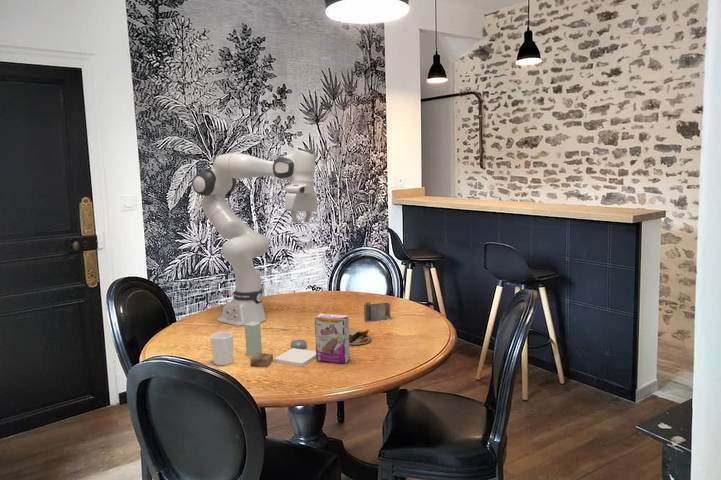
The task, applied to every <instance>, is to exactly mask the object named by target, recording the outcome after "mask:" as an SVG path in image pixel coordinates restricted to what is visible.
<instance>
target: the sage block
mask: <svg viewBox="0 0 721 480" xmlns="http://www.w3.org/2000/svg"><path fill="white" fill-rule="evenodd" d="M261 327H262V326H261V322H260V323H258V322H250V323H247V324H245V325H244V336H245V349H246V357H248V356H251V357H250V358H252V357H253V356H254V355H255V354H256V353H263V348H262V347H263V345H262V331H261V330H262V329H261Z"/></svg>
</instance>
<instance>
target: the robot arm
mask: <svg viewBox="0 0 721 480" xmlns="http://www.w3.org/2000/svg"><path fill="white" fill-rule="evenodd" d="M213 161H214V162H213V166H212V167H211V168H209V167H206V168H205V169H203V170H202V171H200V172H198V173H197V174H195V176H193V179H192V189H193V191H194V192H195V193H196V194H197V195H199V196H205V197H204V198H203V199H202V200H201V208H202V211H203V212H204V214H205V216H206V218H207V219H208V220H209V222H210V223H211V225H212V226H213V227H214V229H215V230H216V231H217V232H218V233H219V235H220V236H222V237H223V238H225V239H228V240H227V241H225V242H224V243H223V244H222V246H221V254H222V256H223V258H224V260H226V262H228V263H229V265H231V268H232V270H233V273H234V280H235V291H232V292H231V296H232V295H233V298H232V299H231V300H230V301H229V302H227V303H226V304H225V305H224V306H223V307H222V314H221V316H218V318H217V319H216V320H217V322H220V323H224V324H228V325H232V326H236V327H239V326H240V327H241V326H245V324H247V323H250V322H258V323H260V324H261V323H263V322H265V321H266V320H267V317H266V313H265V310H264V304H263V289H262V281H261V279H262V278H261V272H260V270H259V269H257V268H256V267H255V265H254V261H253V259H255V258H259V257H261V256H263V255H264V254H266V253H267V252H268V251H269V249H270V248H269V247H270V243H269V242H270V241H269V239H268V238H267V237H266V236H265V235H264V234H262V233H259V232H257V231H255V230H254V229H253V228H252V227H250V226H248V225H247V224H246V223H245V222H244V221H242V219H240V217H239V216H238V214H236V213H235V211H234V210H233V209H232V208H231V207H230V204H228V202H227V201H226V199H228V198H230V196H231V194H232V193H233V192H234V190H235V189H236V186H237V179H250V178H251V179H252V178H258V177H268V176H272V177H276V178H277V179H280V180H284V181H292V183H290V184H289V185H287V186H286V187H285V189H284V192H286V193H285V197H284V209H285V211H286V212H290V217H291V223H294V224H296V223H298V220H299V219H298V217H297V214H298V212H303V213H304V212H305V217H304V220H303V222H304V223H310V219H311V216H312V215H313V214H312V213H313V212H315V213H316V212H317V210H318V196H317V194H316V192H315V189H314V188H315V180H314V175H315V171H316V158H315V153H313V152H312V151H311V150H308V149H303V148H296V149H295V150H294V151H293V152H291V153H289V154H287V155H284V156H278V157H277V158H275V160H274V161H273V160H272V161H271V160H267V159H263V158H260V157H257V156H252V155H250V154H245V153H239V152H237V153H235V152H232V153H231V152H230V153H224V154H220V155H217V156H216V157H215V159H214V160H213Z"/></svg>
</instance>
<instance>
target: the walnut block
mask: <svg viewBox="0 0 721 480" xmlns="http://www.w3.org/2000/svg"><path fill="white" fill-rule="evenodd" d="M249 360H250V367H251V366H252V368H253V367H254V368H268V367H269V366H271V364H272V363H273V362H274V355H273V353H263V352H262V353H256V354H255V355H254V356H253V357H250V359H249ZM271 362H272V363H271Z"/></svg>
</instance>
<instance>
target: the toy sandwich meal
mask: <svg viewBox="0 0 721 480" xmlns="http://www.w3.org/2000/svg"><path fill="white" fill-rule="evenodd" d="M369 331H370V329H365V330H358V329H355V328H352V327H351V328H350V327H349V347H351V346H352V347H353V346H355V347H356V346H358V347H359V346H363V345H367V344H368V343H370V341H371V340H372V336H370V335H368V333H369Z"/></svg>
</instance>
